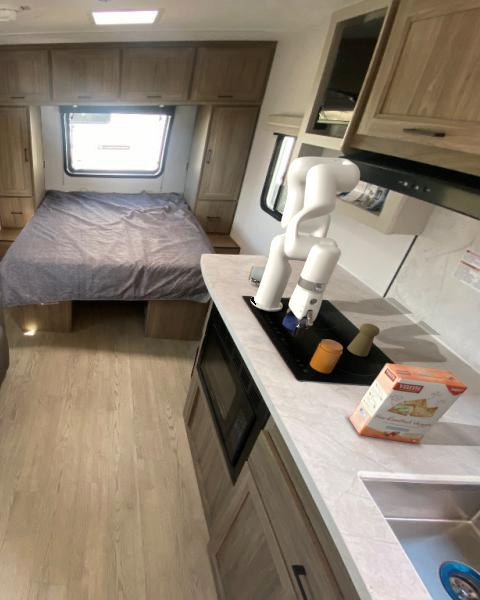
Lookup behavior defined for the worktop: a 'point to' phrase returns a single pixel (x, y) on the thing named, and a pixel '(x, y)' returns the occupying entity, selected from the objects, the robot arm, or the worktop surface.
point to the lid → (291, 322)
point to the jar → (326, 356)
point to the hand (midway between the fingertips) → (292, 329)
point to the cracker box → (405, 402)
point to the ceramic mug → (256, 274)
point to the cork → (363, 340)
